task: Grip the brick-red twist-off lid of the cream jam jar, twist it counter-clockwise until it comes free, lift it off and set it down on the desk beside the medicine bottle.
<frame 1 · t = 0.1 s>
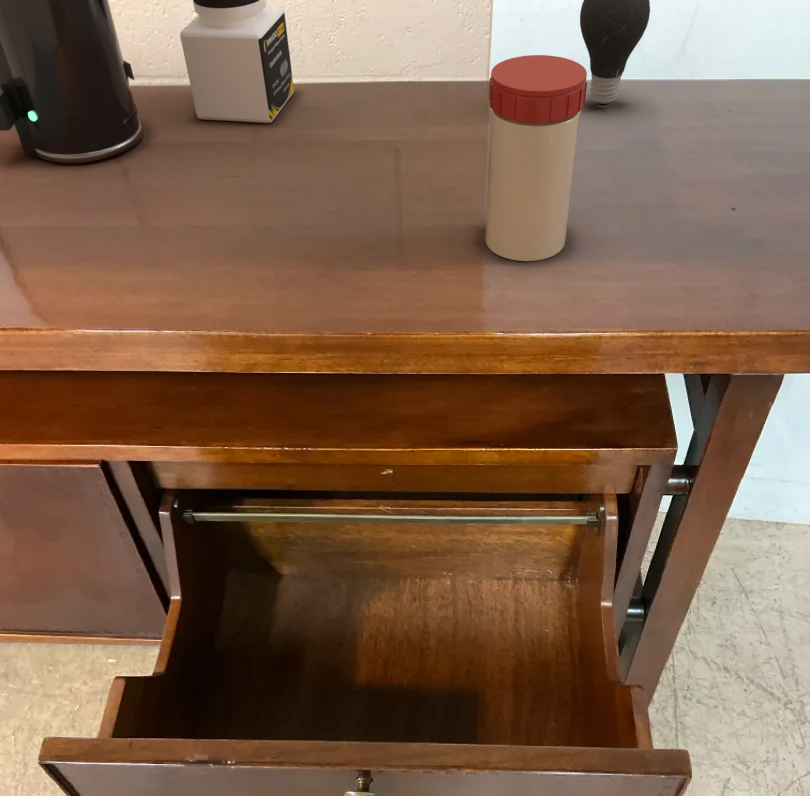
medicine bottle: (247, 108, 77), on the table
jar: (525, 240, 59), on the table
lid: (538, 78, 51), point 11 cm above the table, screwed on, not yet turned
light bulb: (601, 107, 74), on the table
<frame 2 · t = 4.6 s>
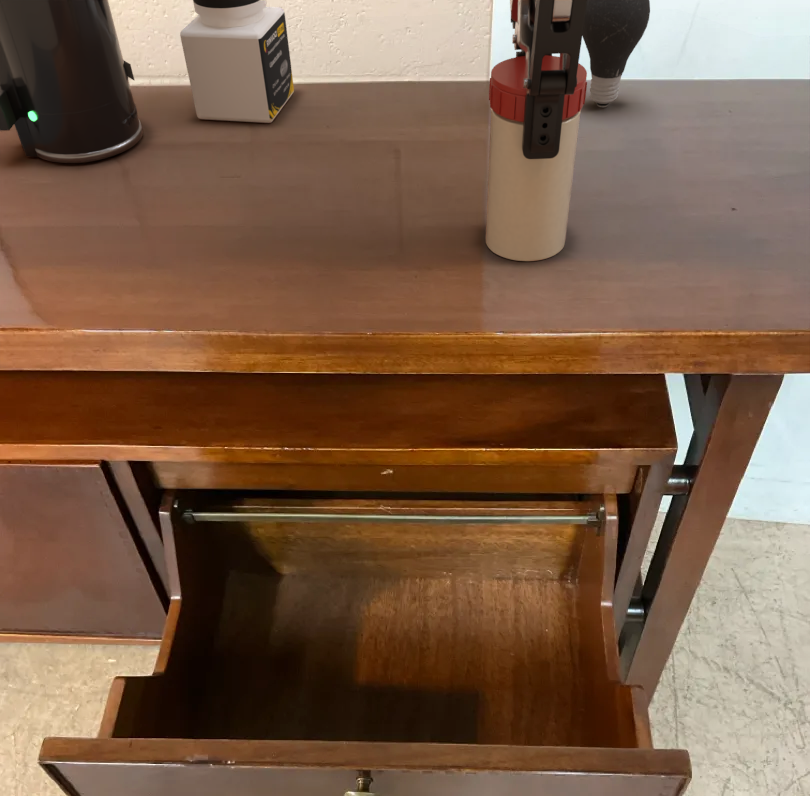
hand: (534, 133, 54), 7 cm above the table, tool pointing down, fingers closed on lid, 5 cm apart
lid: (538, 78, 51), point 11 cm above the table, screwed on, not yet turned, touching gripper
everything else where it was.
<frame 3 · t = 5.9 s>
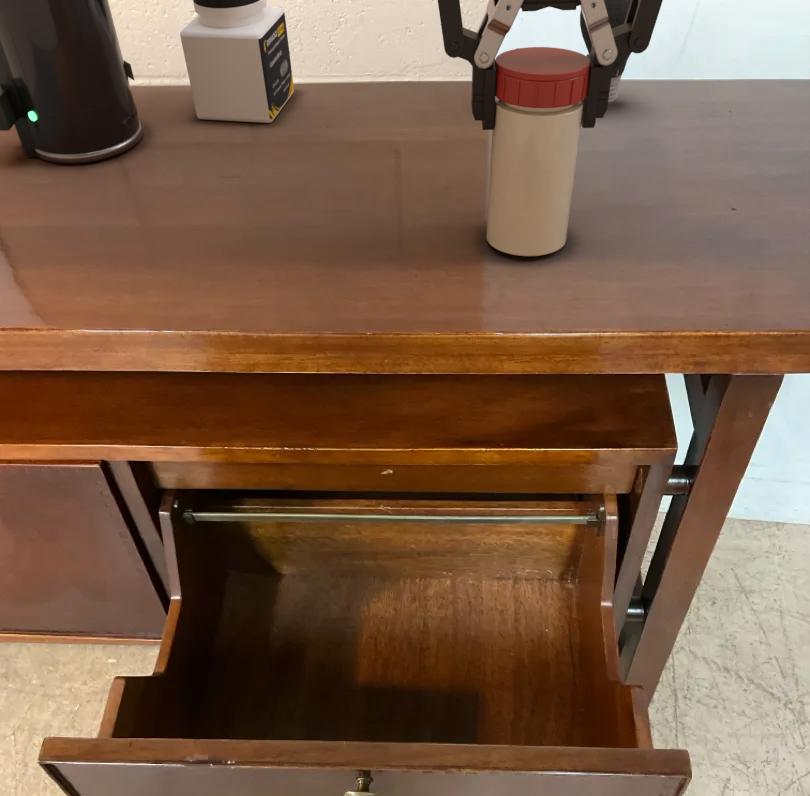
hand: (537, 123, 54), 8 cm above the table, tool pointing down, fingers closed on lid, 5 cm apart
jar: (526, 238, 59), on the table, touching gripper
lid: (542, 66, 51), point 11 cm above the table, turned 89° so far, risen 0.2 cm, still on its thread, touching gripper
everything else where it was.
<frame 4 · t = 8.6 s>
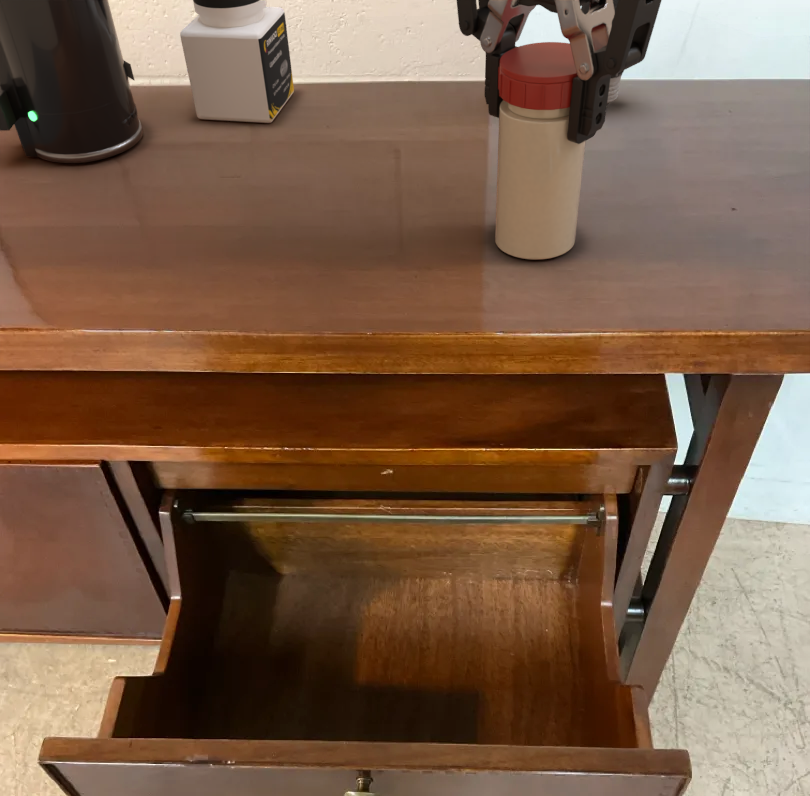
hand: (540, 124, 53), 8 cm above the table, tool pointing down, fingers closed on lid, 5 cm apart
lid: (547, 65, 51), point 11 cm above the table, off its thread, touching gripper
everything else where it was.
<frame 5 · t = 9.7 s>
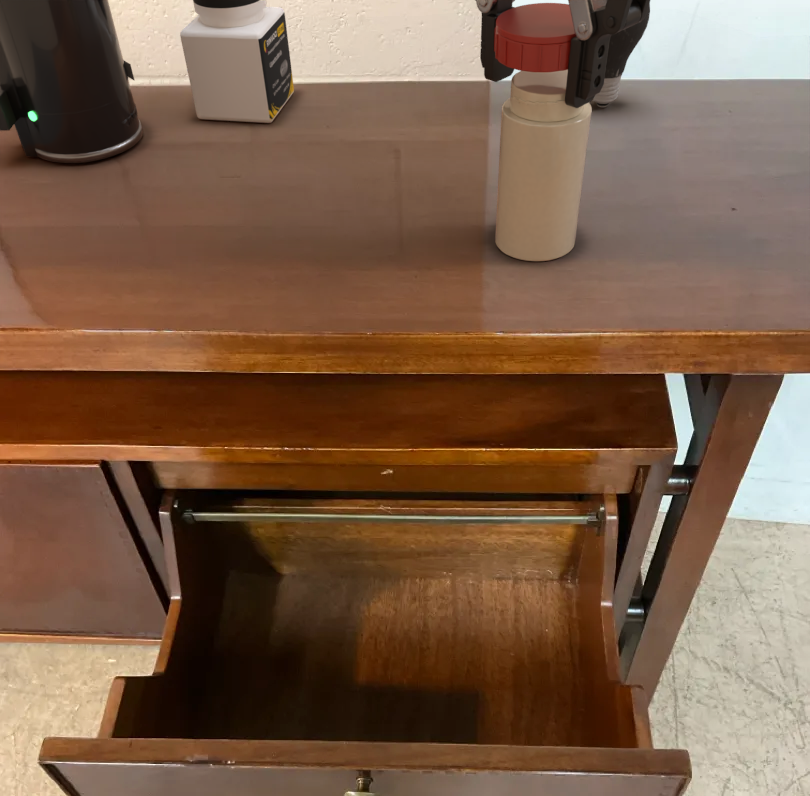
hand: (538, 88, 52), 10 cm above the table, tool pointing down, fingers closed on lid, 5 cm apart
jar: (534, 240, 59), on the table
lid: (545, 26, 49), point 13 cm above the table, off its thread, touching gripper
everything else where it was.
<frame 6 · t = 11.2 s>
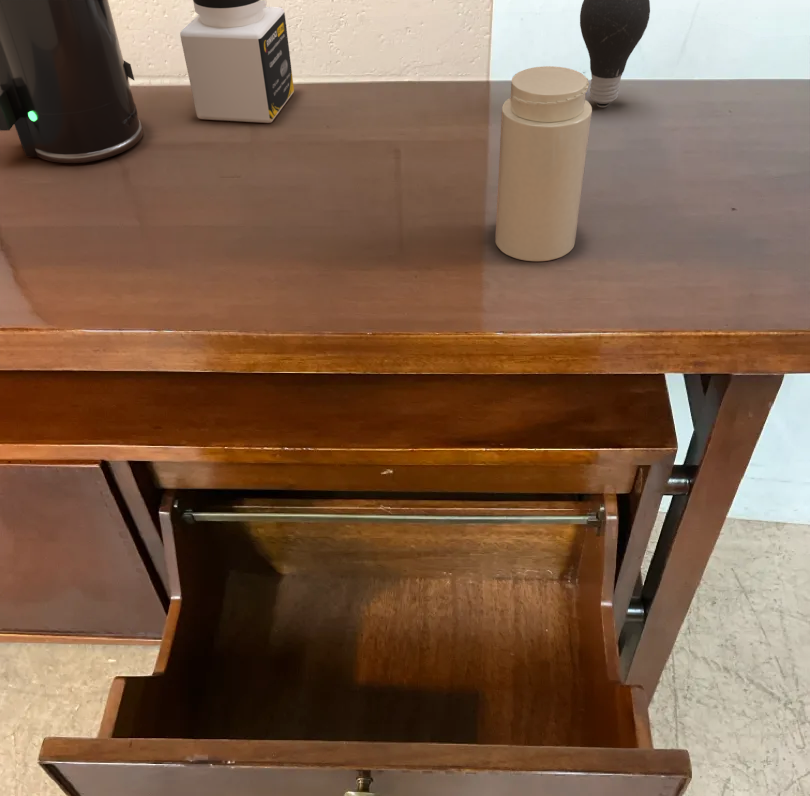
when the fingers open (0 cm above the table, at t = 18.0 s): lid stays where it is, point 1 cm above the table.
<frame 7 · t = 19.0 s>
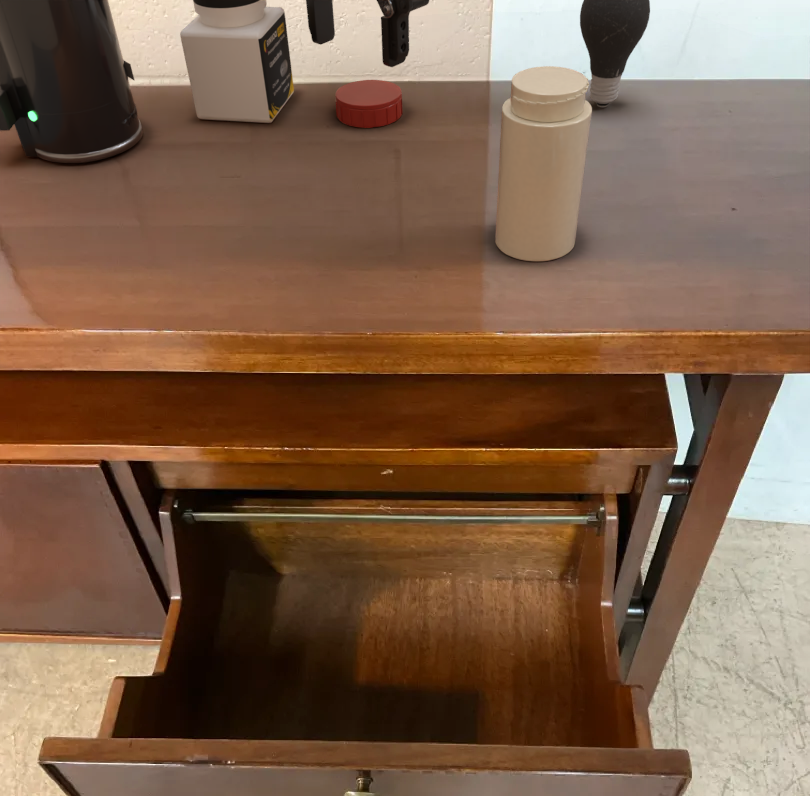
hand: (358, 52, 72), 5 cm above the table, tool pointing down, fingers open, 8 cm apart
lid: (368, 96, 74), point 1 cm above the table, off its thread
everything else where it was.
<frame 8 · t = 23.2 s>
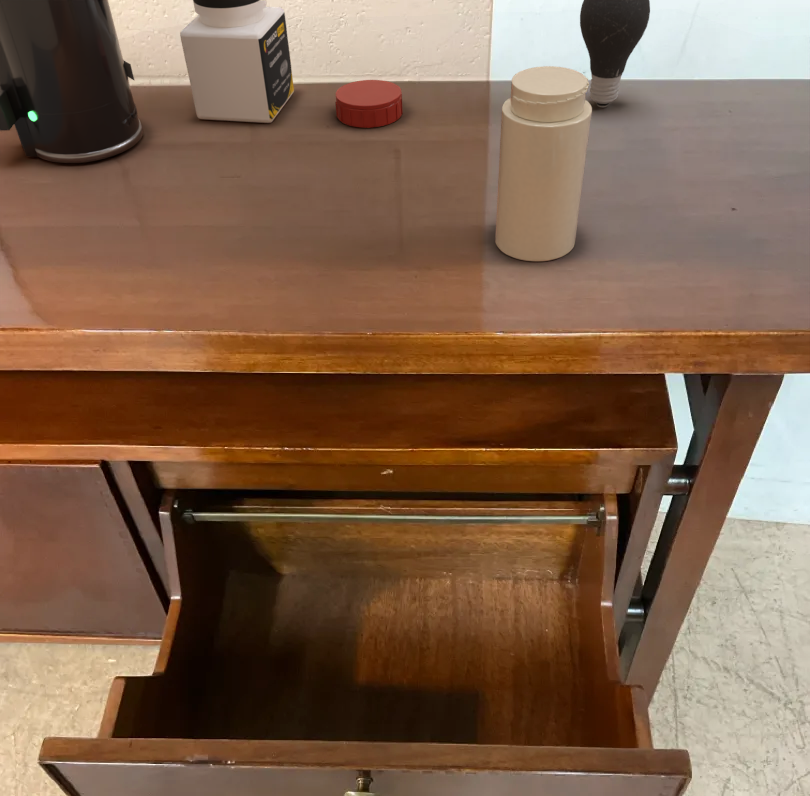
nothing on the table moved.
at the end: lid came off its thread; the gripper is holding nothing; lid inside the target area on the table beside the medicine bottle (0.4 cm from its centre), point 1.7 cm above the table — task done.
